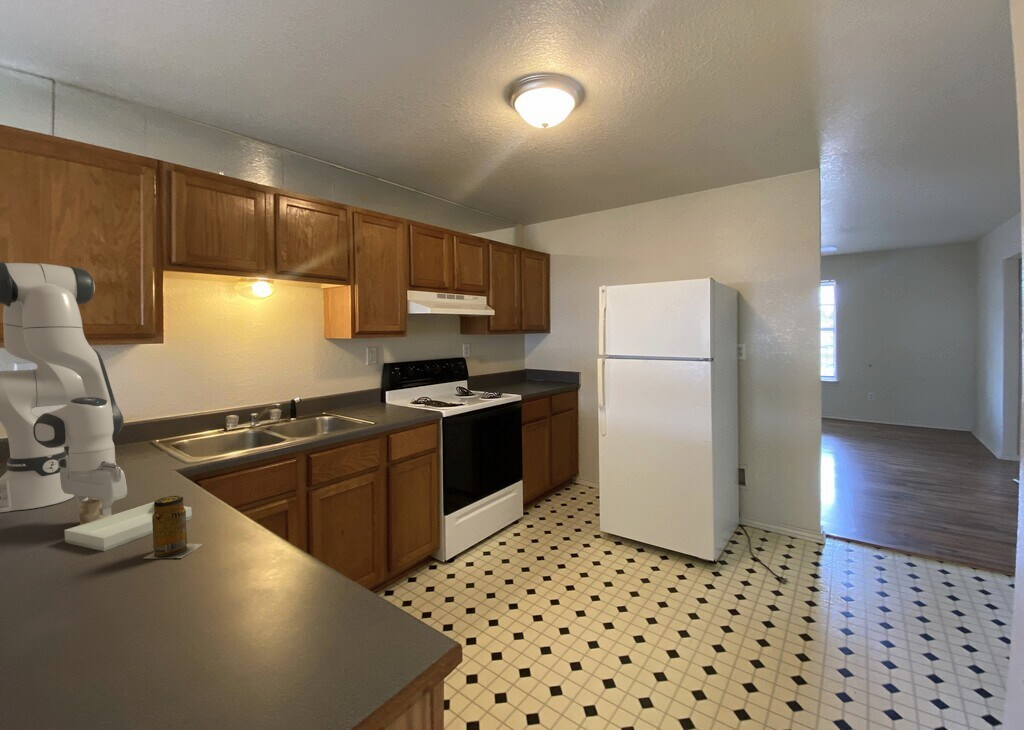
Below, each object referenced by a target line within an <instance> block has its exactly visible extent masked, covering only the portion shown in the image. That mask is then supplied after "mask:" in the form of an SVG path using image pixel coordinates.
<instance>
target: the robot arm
mask: <svg viewBox="0 0 1024 730" xmlns="http://www.w3.org/2000/svg"><path fill="white" fill-rule="evenodd" d="M95 290H96V286H95V282H94V279H93V276H92V275H91V273H89V271H87V270H85V269H83V268H79V267H75V266H64V265H58V264H57V265H56V264H50V263H49V264H48V263H41V262H40V263H39V262H38V263H30V262H27V263H26V262H6V263H5V262H4V261H0V304H1V305H3V310H2V311H3V312H2V325H3V326H2V327H3V330H2V331H3V347H4V349H5V351H6V352H7V353H9V354H10V355H11V356H14V357H16V358H19V359H21V360H25V361H29V362H31V363H34V364H35V365H36V367H37V368H35V369H23V370H22V369H19V370H0V423H1V426H3V428H4V430H5V432H6V436H7V440H8V447H9V458H7V462H6V472H5V473H4V474H3V475H1V477H0V513H6V512H12V511H21V510H29V509H36V508H42V507H47V506H51V505H56V504H60V503H63V502H66V501H68V500H71V499H72V498H74V497H75V500H76V502H77V504H78V505H79V502H82V501H86V500H89V498H90V499H93V498H96V499H101V503H103V504H102V508H101V509H99V512H100V513H99V514H100V515H103V516H106V515H109V514H111V515H112V506H113V504H114V502H115V501H117V500H120V499H125V497H126V496H127V495H128V486H127V480H126V475H125V472H124V471H123V469H122V468H121V467H119V465H118V464H117V463H116V451H115V449H116V448H115V443H114V441H113V439H114V438H115V437H117V436H118V435H119V433H120V432H121V431H122V429H123V426H124V424H125V423H124V422H125V421H124V416H123V414H122V411H121V409H120V408H119V406H118V405H117V402H116V399H115V396H114V393H113V389H112V386H111V383H110V379H109V376H108V372H107V370H106V369H107V368H106V366H105V364H104V360H103V359H102V356H101V353H99V352H98V351H97V350H96V349H94V348H93V347H92V346H91V345H90V344H89V342H88V340H87V339H86V336H85V333H84V328H83V320H82V316H81V312H80V308H79V305H84V304H88V303H89V302H90V301H92V299H93V297H94V294H95ZM53 406H55V407H56V406H63V407H60V408H58V409H55V410H52V411H49V412H46V413H43V414H41V415H39V416H37V415H34V413H33V411H32V409H35V408H42V407H53ZM65 447H68V454H67V450H65Z"/></svg>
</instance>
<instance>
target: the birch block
mask: <svg viewBox="0 0 1024 730" xmlns="http://www.w3.org/2000/svg"><path fill="white" fill-rule="evenodd" d="M102 504H103V503H101V499H96V498H90V499H89V498H88V500H86V501H82V502H79V504H78V510H79V514H78V515H79V525H82V524H86V523H89V522H92V521H95V520H98V519H101V518H105V517H108V516H111V515H112V513H111V514H109V515H106V516H103V515H100V514H99V513H100V512H99V509H101V508H102Z"/></svg>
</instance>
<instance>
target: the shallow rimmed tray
mask: <svg viewBox="0 0 1024 730" xmlns="http://www.w3.org/2000/svg"><path fill="white" fill-rule="evenodd" d="M154 502H155V501H152V502H149V503H145V504H143V505H140V506H137V507H135V508H134V507H133V508H131V509H127V510H124V511H121V512H118V513H114V514H111V516H108V517H105V518H101V519H98V520H95V521H92V522H89V523H86V524H82V525H80V524H79V525H77V526H73V527H69V528H67V529H64V542H65V544H70V545H75V546H79V547H83V548H89V549H92V550H95V551H96V550H97V551H101V552H107V551H109V550H111V549H115V548H117V547H119V546H122V545H125V544H128V543H130V542H132V541H135V540H138V539H141V538H143V537H146V536H149V535H153V524H152V515H153V513H154V512H155V511H154ZM184 508H185V510H186V522H187V521H189V520H191V519H193V515H192V514H193V512H192V510H193V509H192V507H191V506H185V505H184Z"/></svg>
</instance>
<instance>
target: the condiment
mask: <svg viewBox="0 0 1024 730" xmlns="http://www.w3.org/2000/svg"><path fill="white" fill-rule="evenodd" d="M153 502H154V511H155V512H154V513H153V515H152V524H153V533H152V542H153V543H152V544H153V552H152V553H150V554H148V555H145V556H144V557H143V559H146V560H147V559H153V560H154V559H155V560H156V559H157V560H158V559H159V560H160V559H182V558H184V557H186V556H187V555H189V554H191V553H192V552H194V551H196V550H197V549H199V548H200V547H201V546H203V545H204V543H188V536H187V533H188V531H187V521H186V510H185V508H184V506H185V505H184V504H185V503H184V497H183V496H181V495H169V496H164V497H160V498H158V499H155V501H153Z"/></svg>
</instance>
